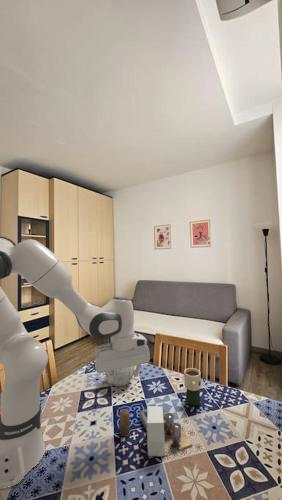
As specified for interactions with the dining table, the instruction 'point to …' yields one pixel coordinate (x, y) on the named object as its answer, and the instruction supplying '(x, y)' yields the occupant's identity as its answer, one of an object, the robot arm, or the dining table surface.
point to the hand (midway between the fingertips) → (123, 378)
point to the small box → (155, 431)
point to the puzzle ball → (122, 375)
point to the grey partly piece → (144, 418)
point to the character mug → (192, 385)
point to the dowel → (124, 422)
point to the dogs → (176, 433)
